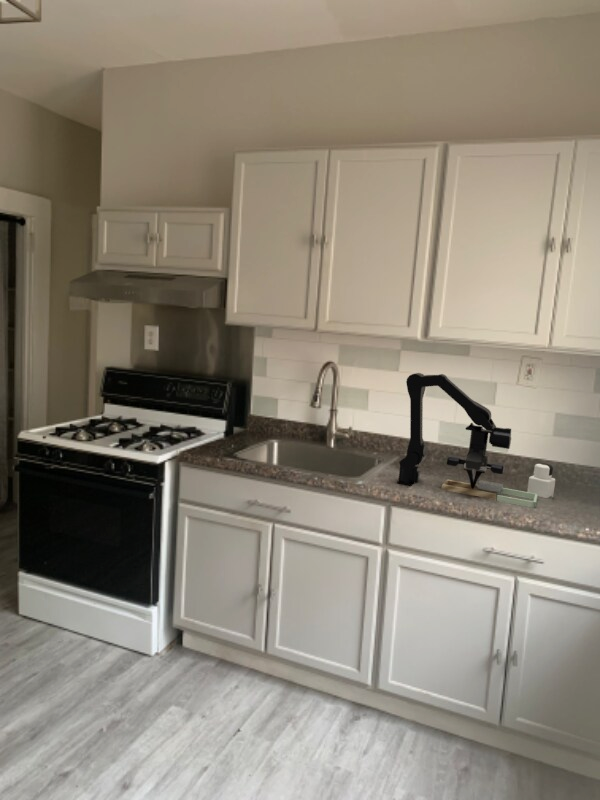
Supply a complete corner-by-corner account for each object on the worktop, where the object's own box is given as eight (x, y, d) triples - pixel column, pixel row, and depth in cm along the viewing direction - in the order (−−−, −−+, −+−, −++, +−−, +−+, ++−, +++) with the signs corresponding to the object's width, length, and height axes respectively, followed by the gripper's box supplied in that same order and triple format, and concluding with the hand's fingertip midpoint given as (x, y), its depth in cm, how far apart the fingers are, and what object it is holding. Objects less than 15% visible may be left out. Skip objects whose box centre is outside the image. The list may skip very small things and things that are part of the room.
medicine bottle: (532, 493, 227) (537, 460, 225) (553, 498, 223) (557, 465, 221) (525, 496, 222) (530, 463, 220) (546, 501, 217) (551, 467, 215)
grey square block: (488, 496, 213) (489, 484, 213) (489, 493, 217) (491, 482, 216) (500, 498, 212) (502, 486, 211) (501, 495, 215) (503, 484, 215)
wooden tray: (441, 492, 217) (442, 484, 217) (446, 487, 225) (447, 479, 225) (495, 502, 210) (496, 494, 210) (498, 496, 218) (499, 488, 218)
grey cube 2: (476, 493, 215) (477, 482, 214) (478, 491, 219) (479, 480, 218) (488, 496, 213) (489, 484, 213) (489, 493, 217) (491, 482, 216)
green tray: (496, 504, 209) (497, 495, 208) (500, 495, 220) (501, 487, 219) (534, 511, 204) (535, 502, 204) (536, 502, 215) (537, 493, 215)
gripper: (446, 443, 211) (441, 488, 214) (504, 452, 204) (497, 499, 206) (452, 438, 222) (447, 481, 224) (507, 447, 214) (501, 491, 216)
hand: (472, 488), depth 217 cm, fingers closed
